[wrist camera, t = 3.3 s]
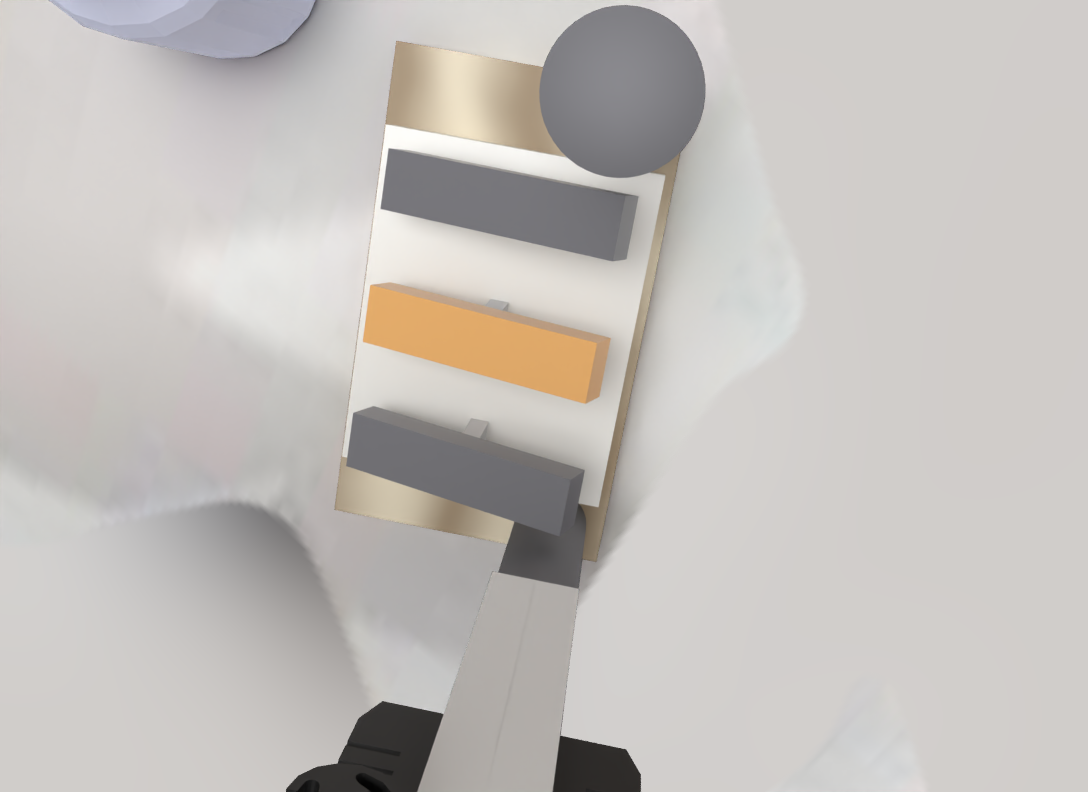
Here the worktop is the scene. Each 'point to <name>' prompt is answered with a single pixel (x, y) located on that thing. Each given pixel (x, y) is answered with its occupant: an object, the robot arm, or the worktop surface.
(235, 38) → the soap bottle
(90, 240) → the worktop surface
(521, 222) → the front paddle
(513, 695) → the robot arm
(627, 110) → the posts
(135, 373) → the worktop surface
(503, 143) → the board
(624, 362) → the block
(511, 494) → the bar
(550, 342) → the middle paddle
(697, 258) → the worktop surface
